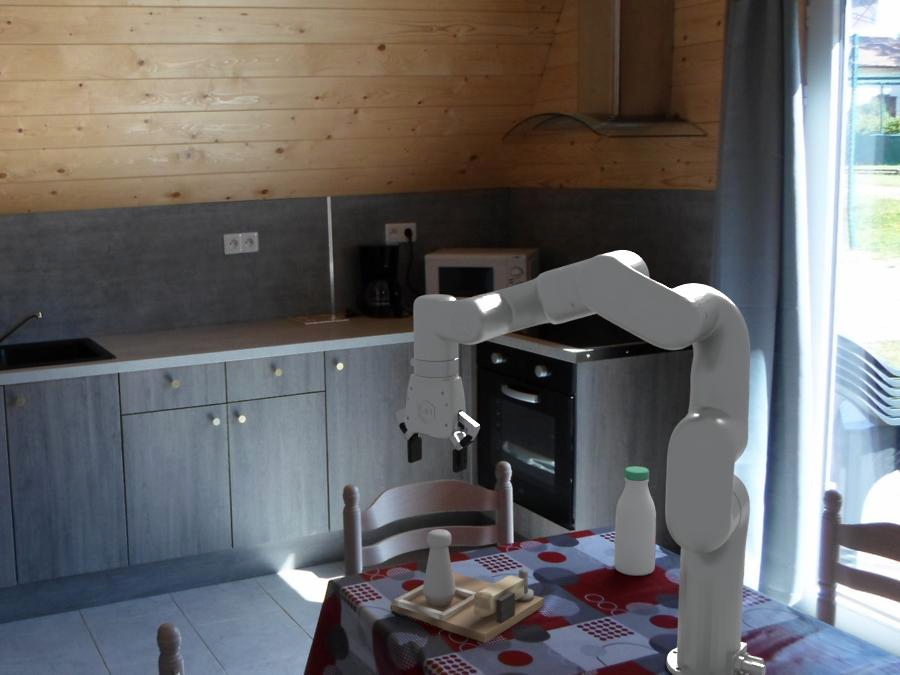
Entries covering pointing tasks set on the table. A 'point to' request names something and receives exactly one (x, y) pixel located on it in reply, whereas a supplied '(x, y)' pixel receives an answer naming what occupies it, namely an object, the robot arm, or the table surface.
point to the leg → (497, 594)
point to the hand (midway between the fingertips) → (437, 465)
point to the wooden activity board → (470, 609)
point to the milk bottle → (635, 525)
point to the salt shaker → (439, 570)
